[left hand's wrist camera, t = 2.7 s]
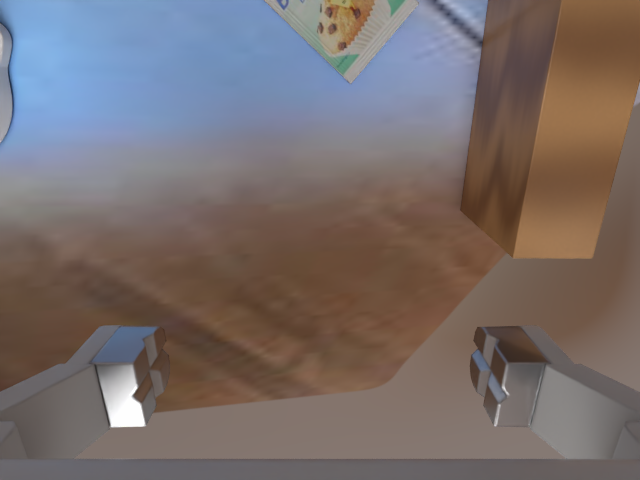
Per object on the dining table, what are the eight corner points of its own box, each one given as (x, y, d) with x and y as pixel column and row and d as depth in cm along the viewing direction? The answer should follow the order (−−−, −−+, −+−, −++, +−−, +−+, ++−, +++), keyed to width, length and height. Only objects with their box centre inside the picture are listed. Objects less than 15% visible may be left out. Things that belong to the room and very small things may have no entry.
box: (518, 210, 43) (592, 258, 31) (460, 210, 43) (512, 258, 31) (574, -92, 34) (711, -187, 22) (500, -92, 34) (597, -187, 22)
